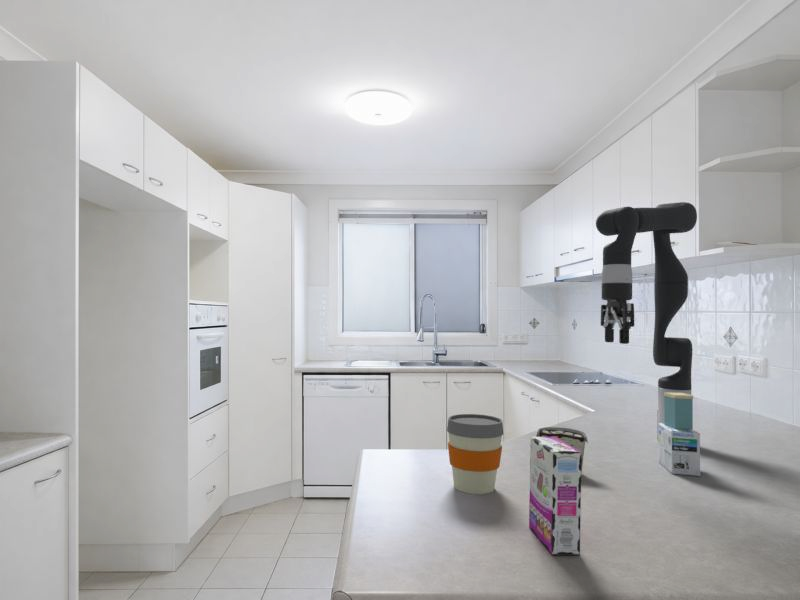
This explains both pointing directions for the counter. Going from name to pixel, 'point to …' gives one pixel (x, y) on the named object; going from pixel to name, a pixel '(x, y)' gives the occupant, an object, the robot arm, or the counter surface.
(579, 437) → the food container
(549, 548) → the candy bar box
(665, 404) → the tea tin
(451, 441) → the reusable coffee cup
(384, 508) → the counter surface
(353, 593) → the counter surface
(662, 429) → the light bulb box
